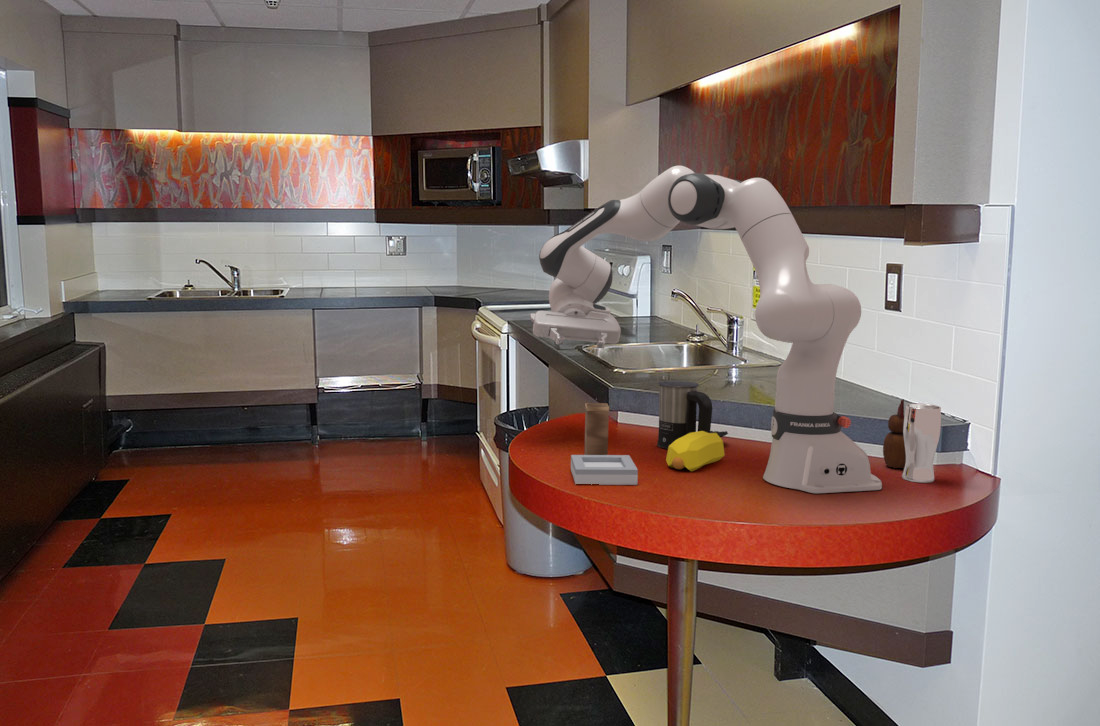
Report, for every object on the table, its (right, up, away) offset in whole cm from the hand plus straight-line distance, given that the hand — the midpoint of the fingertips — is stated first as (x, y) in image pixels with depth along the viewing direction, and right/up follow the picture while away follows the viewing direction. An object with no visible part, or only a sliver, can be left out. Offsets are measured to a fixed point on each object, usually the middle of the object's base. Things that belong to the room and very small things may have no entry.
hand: (580, 343), depth 205 cm
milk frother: (+26, -24, +9) cm, 36 cm away
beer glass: (+68, -28, -19) cm, 76 cm away
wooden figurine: (+67, -27, -9) cm, 73 cm away
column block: (+3, -25, -8) cm, 26 cm away
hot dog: (+24, -26, -10) cm, 37 cm away
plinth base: (+4, -27, -22) cm, 35 cm away
